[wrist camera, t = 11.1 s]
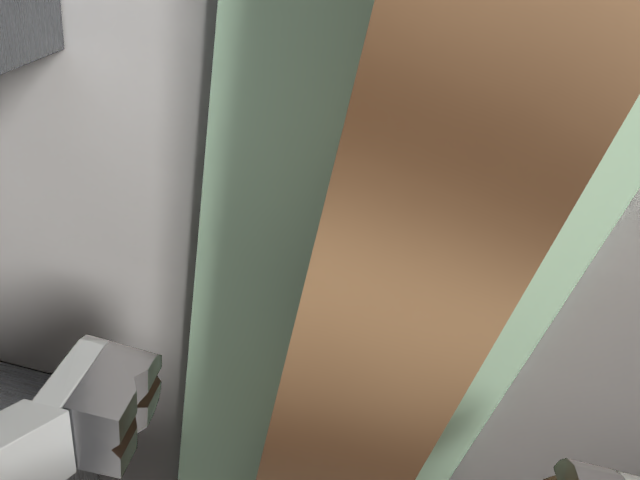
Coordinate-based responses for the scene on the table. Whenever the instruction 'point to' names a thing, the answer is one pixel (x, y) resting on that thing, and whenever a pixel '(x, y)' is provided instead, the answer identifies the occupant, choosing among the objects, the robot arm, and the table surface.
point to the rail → (441, 217)
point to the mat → (302, 225)
